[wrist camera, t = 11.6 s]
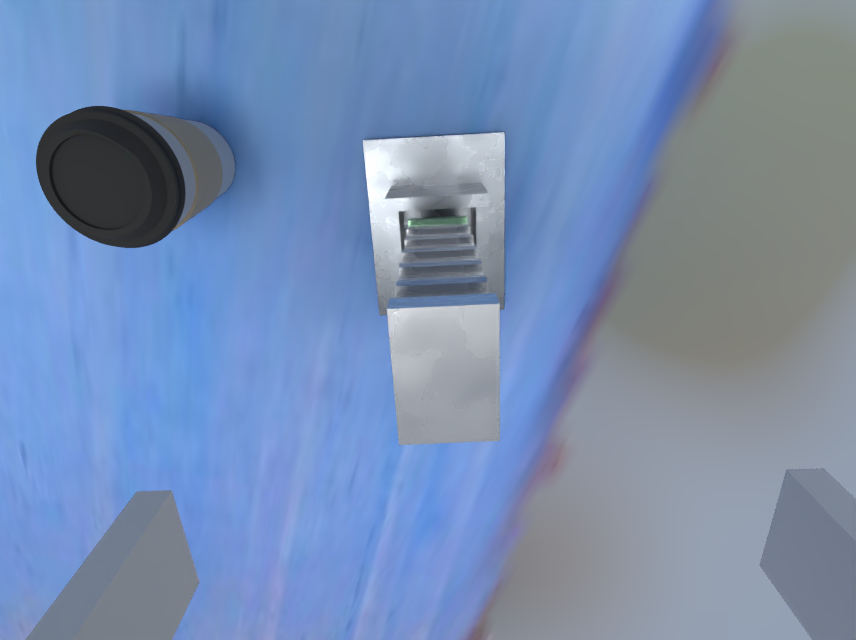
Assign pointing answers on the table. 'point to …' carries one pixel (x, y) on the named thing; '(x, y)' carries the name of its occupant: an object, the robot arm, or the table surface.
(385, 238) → the stand
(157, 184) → the coffee cup
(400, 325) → the column
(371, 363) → the table surface
